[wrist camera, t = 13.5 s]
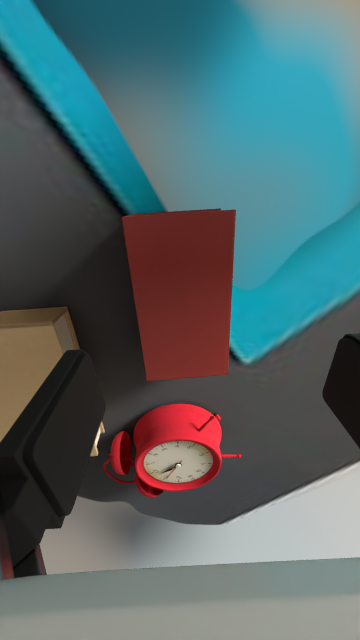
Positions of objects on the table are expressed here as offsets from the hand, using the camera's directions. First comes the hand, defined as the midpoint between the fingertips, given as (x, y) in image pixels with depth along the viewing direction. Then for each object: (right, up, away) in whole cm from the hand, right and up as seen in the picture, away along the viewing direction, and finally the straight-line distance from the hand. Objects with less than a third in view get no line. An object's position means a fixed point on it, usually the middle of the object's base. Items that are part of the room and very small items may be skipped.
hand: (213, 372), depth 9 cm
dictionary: (-1, +5, +11) cm, 12 cm away
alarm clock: (-3, -12, +19) cm, 23 cm away
